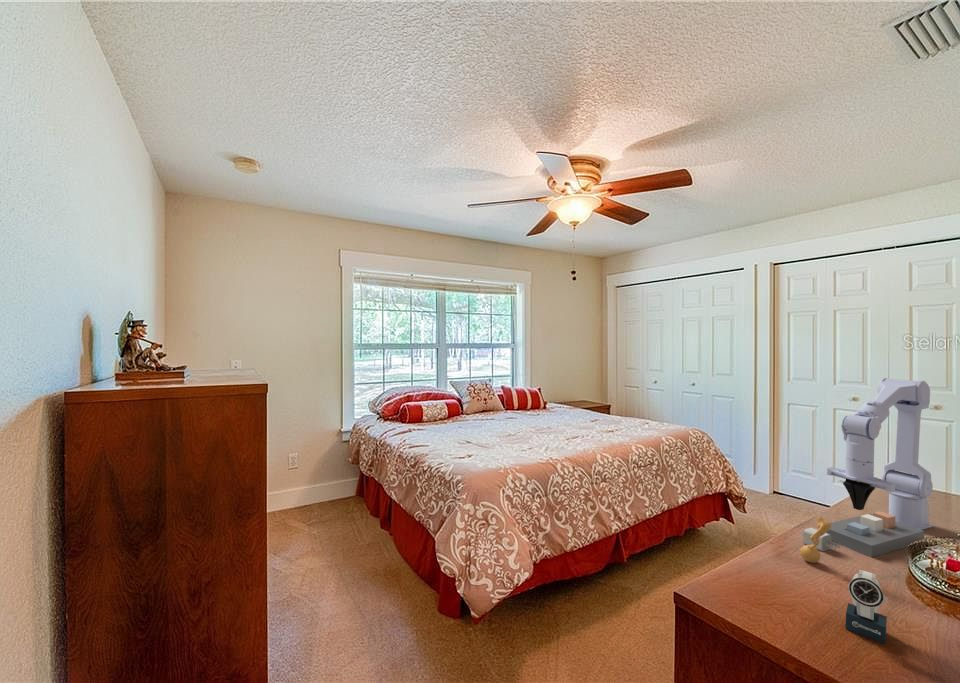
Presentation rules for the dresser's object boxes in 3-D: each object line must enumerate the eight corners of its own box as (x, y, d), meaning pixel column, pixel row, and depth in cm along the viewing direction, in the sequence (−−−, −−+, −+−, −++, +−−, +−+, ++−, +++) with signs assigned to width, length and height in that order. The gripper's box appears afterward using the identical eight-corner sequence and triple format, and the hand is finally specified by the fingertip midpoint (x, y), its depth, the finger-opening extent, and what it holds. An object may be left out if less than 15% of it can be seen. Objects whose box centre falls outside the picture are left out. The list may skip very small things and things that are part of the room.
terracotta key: (880, 523, 121) (880, 511, 121) (895, 528, 118) (895, 515, 118) (873, 525, 120) (873, 512, 120) (888, 530, 117) (888, 517, 117)
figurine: (807, 553, 109) (808, 507, 108) (836, 564, 103) (837, 516, 103) (793, 562, 104) (794, 515, 104) (823, 574, 99) (824, 524, 99)
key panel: (870, 523, 127) (871, 513, 126) (924, 541, 115) (924, 530, 115) (819, 536, 118) (819, 525, 118) (871, 557, 107) (871, 545, 107)
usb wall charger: (812, 541, 115) (812, 527, 115) (842, 553, 109) (842, 538, 109) (803, 544, 114) (803, 529, 113) (833, 556, 107) (833, 541, 107)
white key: (867, 526, 119) (867, 514, 119) (882, 531, 116) (882, 519, 116) (860, 528, 118) (860, 515, 118) (875, 533, 114) (875, 520, 114)
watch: (844, 633, 79) (845, 576, 79) (848, 614, 85) (849, 560, 85) (885, 650, 75) (887, 589, 75) (887, 628, 81) (888, 572, 81)
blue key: (854, 534, 117) (854, 522, 117) (869, 540, 114) (869, 527, 114) (846, 536, 116) (846, 523, 116) (861, 542, 112) (861, 529, 112)
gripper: (820, 453, 120) (819, 500, 120) (884, 469, 106) (883, 522, 106) (836, 451, 122) (835, 497, 122) (900, 466, 109) (899, 518, 109)
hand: (858, 508), depth 114 cm, fingers closed
